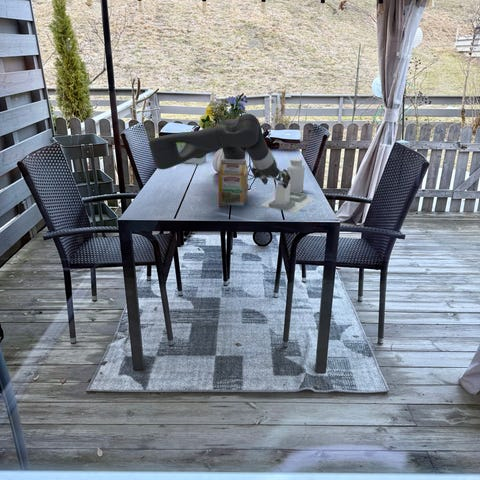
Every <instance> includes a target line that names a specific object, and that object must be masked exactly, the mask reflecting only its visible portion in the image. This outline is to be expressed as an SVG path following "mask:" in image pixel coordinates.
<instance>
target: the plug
mask: <svg viewBox="0 0 480 480" xmlns="http://www.w3.org/2000/svg"><path fill="white" fill-rule="evenodd" d="M274 191H275V192H274V197H275V204H279V205H284V206H286V205H288V204H289V200H290V184H288V186H287V188H286V189H285V188H284V187H283V185H282V183H281V182H279V181H278V182H277V184H275V190H274Z"/></svg>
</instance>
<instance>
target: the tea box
mask: <svg viewBox="0 0 480 480" xmlns="http://www.w3.org/2000/svg"><path fill="white" fill-rule="evenodd" d="M185 144H186V143H181V142H178V143H176V145H177V148H178V151H179V152H180V151H181V150H182V149H183V148H184V146H185ZM203 162H204V163H206V162H207V154H205V155H201V156H198V157H195V158H192V159H189V160H187V161H185V162H183V163H184V164H191V165H193V164H194V165H199V164H200V165H202V164H204V163H203Z"/></svg>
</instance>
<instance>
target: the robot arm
mask: <svg viewBox="0 0 480 480" xmlns="http://www.w3.org/2000/svg"><path fill="white" fill-rule="evenodd" d="M178 142H181V143H186V144H185V146H184V148H183V149H182V150H181V151H180V152H179V151H178V148H177V143H178ZM148 146H149V149H150V153H151V156H152V160H153V162H154V165H155V167H156V169H158V170H168V169H170V168H174V167H176V166H178V165H181V164H182V163H183V162H185V161H187V160H189V159H192V158H195V157H198V156H201V155H205V154H206V155H207V154H210V153H213V152H214V151H218V150H220V149H222V152H223V159H232V160H246V152H247V154H248V156H249V158H250V161H251V163H252V164H253V165H252V167H251V170H250V171H251V173H252V175H253V176H254V178H256V179H259V180H261V182H262V183H263V185H265V186H266V185H267V184H268V183H269V182H268V181H269V179H273V180H274V181H276V182H277V183H278V182H281V183H282V185H283V187H284V188H285V189H286V188H287V186H288V183H289V181H290V179H291V178H290V176H289V174H288V172H287V169H286V168H285V169H283V170H280V169H279V168H278V164H277V161H276V159H275V157H274V154H273V153H272V151H271V150H270V148H269V146H268V144H267V142H266V141H265V137H264V132H263V129H262V126H261V123H260V121H259V119H258V118H257V117H256V115H254V114H252V113H244V114H242V115H240V116H239V118H238V119H233V118H228V119H225V120H224V122H223V123H222V124H221V125H217V126H214V127H208V128H204V129H200V130H199V129H198V130H195V131H194V130H193V131H184V132H183V131H182V132H179V133H171V134H166V135H162V136H157V137H155V138H153V139H150V140H149V142H148ZM243 148H245V149H246V152H245V150H244V149H243ZM268 178H269V179H268Z"/></svg>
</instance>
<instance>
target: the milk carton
mask: <svg viewBox="0 0 480 480" xmlns="http://www.w3.org/2000/svg"><path fill="white" fill-rule="evenodd" d="M217 177H218V207H219V208H223V207H225V206H239V207H240V206H243V207H244V206H245V204H246V202H247V199H248V191H249V190H248V186H249V185H248V184H249V183H248V182H249V181H248V180H249V179H248V178H249V168H248V164H247V160H246V159H245V160H232V159H224V158H221V159H220V164H219V169H218V176H217Z"/></svg>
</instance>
